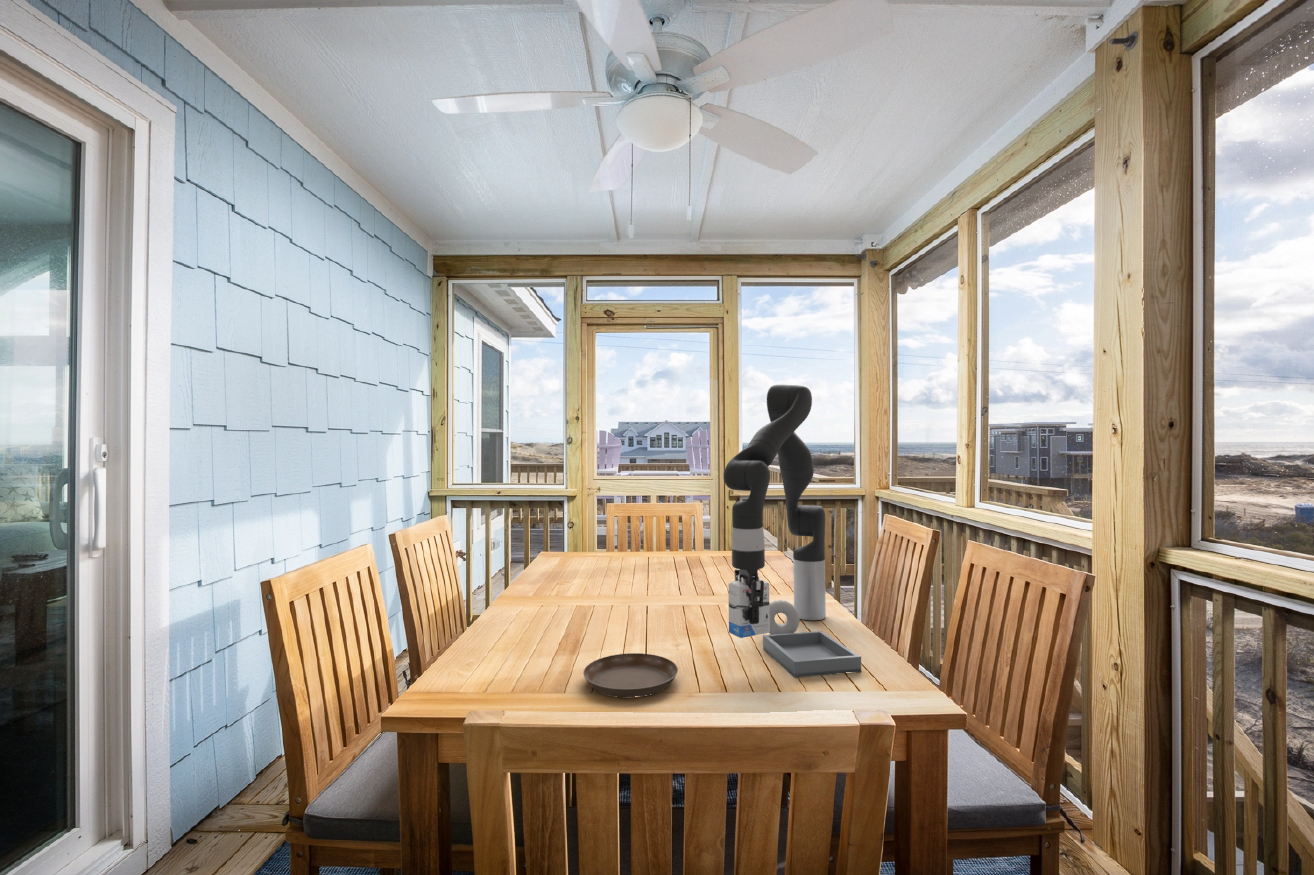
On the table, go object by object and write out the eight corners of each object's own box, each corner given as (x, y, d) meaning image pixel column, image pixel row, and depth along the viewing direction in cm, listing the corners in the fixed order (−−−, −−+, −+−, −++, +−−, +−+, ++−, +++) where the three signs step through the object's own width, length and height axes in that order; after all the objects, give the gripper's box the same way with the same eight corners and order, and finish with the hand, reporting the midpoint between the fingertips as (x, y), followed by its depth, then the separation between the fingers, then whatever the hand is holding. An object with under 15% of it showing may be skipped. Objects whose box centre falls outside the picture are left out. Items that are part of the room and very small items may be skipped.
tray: (763, 648, 159) (762, 635, 159) (822, 644, 162) (821, 630, 162) (794, 677, 139) (794, 661, 139) (861, 672, 142) (861, 656, 142)
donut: (762, 638, 167) (761, 601, 167) (761, 634, 171) (761, 597, 171) (800, 640, 166) (799, 602, 166) (799, 636, 169) (799, 598, 169)
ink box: (740, 638, 141) (739, 586, 141) (728, 632, 145) (727, 582, 145) (771, 632, 145) (770, 581, 144) (758, 627, 149) (757, 577, 149)
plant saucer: (644, 711, 123) (644, 694, 123) (563, 690, 134) (563, 674, 134) (694, 677, 141) (694, 662, 141) (619, 661, 151) (619, 647, 152)
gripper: (774, 551, 138) (776, 627, 138) (753, 540, 153) (754, 609, 153) (742, 553, 137) (743, 630, 137) (723, 542, 151) (724, 612, 151)
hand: (749, 619), depth 145 cm, fingers closed on ink box, 5 cm apart
